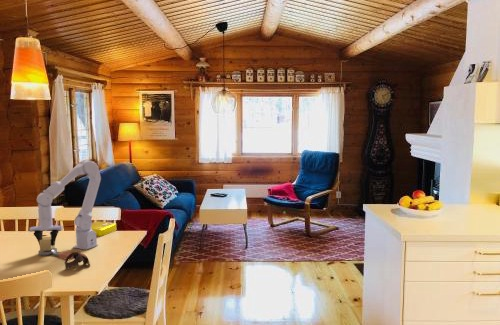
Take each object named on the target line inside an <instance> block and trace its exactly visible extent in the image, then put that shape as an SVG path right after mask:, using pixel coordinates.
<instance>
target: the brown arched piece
mask: <svg viewBox="0 0 500 325" xmlns="http://www.w3.org/2000/svg"><path fill="white" fill-rule="evenodd" d="M70 253H71V254H69V255H68V256H67V257H66V258H64V268H65V269H66V270H68V269H72V268H74V267H77V266H78V267H79V266H80V265H79V264H81V263H83V265H88V268H91V262H90V260H89V258H88V256H87V255H86V254H85V253H82V252H81V251H80V250H75V251H73V252H70ZM72 256H73V258H74V259H72V260H71V261H69V260H70V258H71V257H72ZM68 261H69V262H68Z"/></svg>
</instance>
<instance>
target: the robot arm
mask: <svg viewBox="0 0 500 325" xmlns="http://www.w3.org/2000/svg"><path fill="white" fill-rule="evenodd" d="M81 175H86V177H87V178H88V179H89V181H88V185H87V187H86V188H87V189H86V191H85V194H84V195H85V196H84V199H83V202H82V206H81V207H80V208H81V209H80V210H79V212H78V214H77V216H76V217H75V218H74V225H75V226H76V228H75V238H76V241H75V242H76V245H73V246H72V248H73V249H74V248H75V249H81V250H90V249H92V248H94V247H97V246H99V244H98V242H97V236H96V232H95V231H93V230H92V229H91V226H92V223H93V222H92V219H93V213H92V212H93V208H94V205H95V202H96V198H97V195H98V191H99V187H100V185H101V184H100V183H101V182H102V181H101V180H102V176H101V173H100V167H99V166H98V164H97V163H96V162H94V161H91V160H89V159H83V160H81V161H80V162H79V163H78V164H75V166H74V167H73V168H72V169H71V170H69V172H68V173H67V174H65V175H64V176H63V178H61V179H60V180H59V181H57V180H55V181H53V182H50V186H48V187H47V188H46V189H43V191H42V192H40V193H39V194H38V195H37V196H36V197H37V198H36V202H37V206H38V207H37V208H38V209H37V211H38V226H31V227H29V233H32V232H33V236H34V237H35V238H36V240H37V242H38V244H39V246H40V241H39V240H40V239H42V238H43V232H48V231H49V234H50V237H51V241H52V246H54V245H55V246H56V239H57V236H58V234H59V232H60V231H63V229H64V228H63V225H56V224H55V225H53V212H52V211H53V210H52V203H53V200H55V199H56V198H57V197H58V196H59V195H60V194H62V192H63V191H65V186H66V185H68V184H69V183H70V182H71V181H73V180H74V179H75V178H76V177H78V176H81Z"/></svg>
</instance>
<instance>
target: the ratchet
mask: <svg viewBox="0 0 500 325" xmlns="http://www.w3.org/2000/svg"><path fill="white" fill-rule="evenodd" d="M71 253H72V252H67V251H63V252H62V251H61V252H60V251H58V249H57V247H54V248H53V249H51V250H40V249H39V250H38V256H39V257H49V256H53V257H56V258H61V259H65V258H66V257H67V256H68V255H69V254H71ZM70 259H71V260H75V259H74V258H73V256H72V257H71V258H70ZM70 259H69V260H70Z"/></svg>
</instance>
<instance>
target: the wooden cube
mask: <svg viewBox="0 0 500 325" xmlns="http://www.w3.org/2000/svg"><path fill="white" fill-rule="evenodd" d="M39 241H40V245H39V250H51V249H53V248H56V244H55V245H54V246H52V241H51V236H42V239H40V240H39Z"/></svg>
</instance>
